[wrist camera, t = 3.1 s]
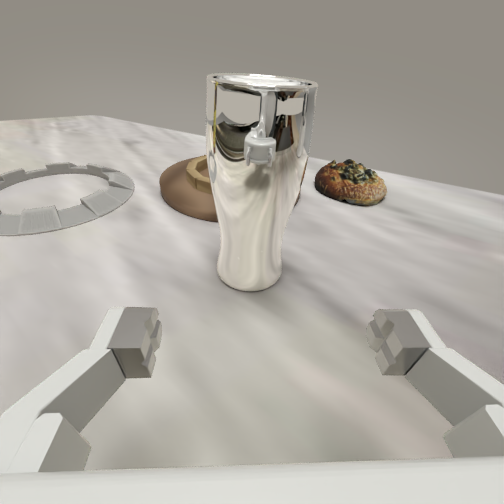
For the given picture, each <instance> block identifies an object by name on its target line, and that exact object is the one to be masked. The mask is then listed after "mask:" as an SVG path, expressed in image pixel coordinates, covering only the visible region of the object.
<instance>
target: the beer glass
mask: <svg viewBox="0 0 504 504" xmlns="http://www.w3.org/2000/svg"><path fill="white" fill-rule="evenodd" d="M206 78H207V105H206V154H207V167H208V175H209V180H210V186H211V192H212V196H213V201H214V205H215V210H216V214H217V218H218V223H219V228H220V237H221V240H220V250H219V255H218V260H217V273H218V275H219V277H220V279H221V280H222V281H223V282H224V283H225V284H227V285H228V286H230V287H232V288H235V289H238V290H242V291H260V290H264V289H266V288H269V287H271V286H272V285H274V284H275V283H276V282H277V281H278V279H279V278H280V275H281V271H282V263H281V243H282V239H283V234H284V231H285V229H286V226H287V223H288V220H289V218H290V215H291V213H292V210H293V207H294V205H295V202H296V199H297V197H298V194H299V191H300V188H301V184H302V181H303V178H304V174H305V170H306V165H307V161H308V155H309V149H310V143H311V137H312V129H313V120H314V111H315V101H316V94H317V88H318V84H317V83H315V82H312V81H308V80H304V79H298V78H291V77H282V76H273V75H260V74H243V73H217V74H209V75H207V77H206Z"/></svg>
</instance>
